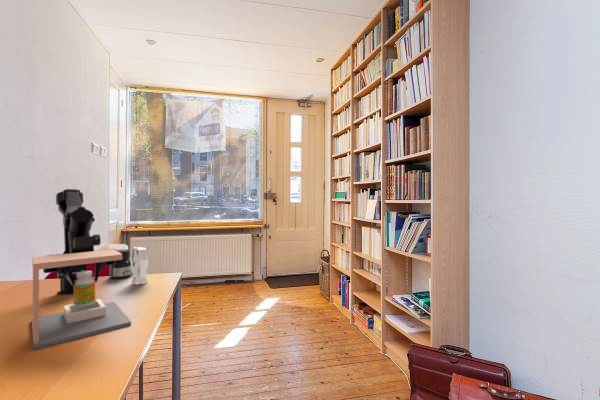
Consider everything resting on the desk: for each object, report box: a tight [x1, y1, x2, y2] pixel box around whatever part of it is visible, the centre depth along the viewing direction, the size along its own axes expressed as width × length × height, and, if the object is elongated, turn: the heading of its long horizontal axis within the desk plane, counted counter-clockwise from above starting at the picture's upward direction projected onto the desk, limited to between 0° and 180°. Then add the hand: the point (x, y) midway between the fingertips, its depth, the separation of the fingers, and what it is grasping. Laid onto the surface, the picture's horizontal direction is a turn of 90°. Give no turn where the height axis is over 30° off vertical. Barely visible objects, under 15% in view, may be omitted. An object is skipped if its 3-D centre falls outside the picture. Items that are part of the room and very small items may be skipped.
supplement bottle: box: [73, 270, 96, 306], centre depth 92 cm, size 5×5×10 cm
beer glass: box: [129, 246, 150, 286], centre depth 129 cm, size 7×7×15 cm
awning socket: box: [31, 248, 132, 350], centre depth 88 cm, size 22×21×20 cm
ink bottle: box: [109, 248, 133, 280], centre depth 139 cm, size 10×9×12 cm
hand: (85, 283), depth 91 cm, fingers closed on supplement bottle, 5 cm apart
